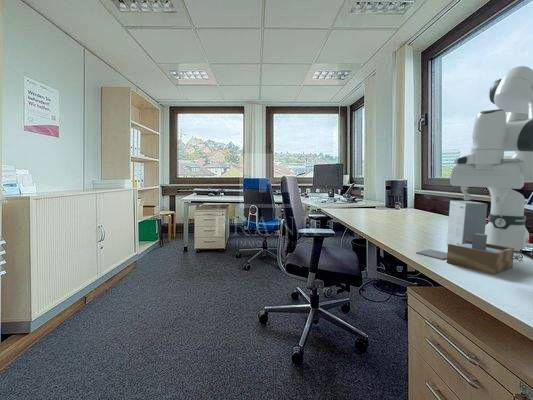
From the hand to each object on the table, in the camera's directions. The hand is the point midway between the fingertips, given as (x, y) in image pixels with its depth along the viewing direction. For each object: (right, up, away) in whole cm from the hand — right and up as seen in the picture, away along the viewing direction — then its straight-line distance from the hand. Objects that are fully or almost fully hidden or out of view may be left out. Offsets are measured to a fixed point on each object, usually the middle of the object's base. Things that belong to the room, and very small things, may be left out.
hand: (482, 201), depth 100 cm
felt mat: (-8, -20, +14) cm, 26 cm away
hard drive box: (+8, -20, +22) cm, 31 cm away
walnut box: (0, -22, +2) cm, 22 cm away
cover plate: (0, -17, +2) cm, 17 cm away
